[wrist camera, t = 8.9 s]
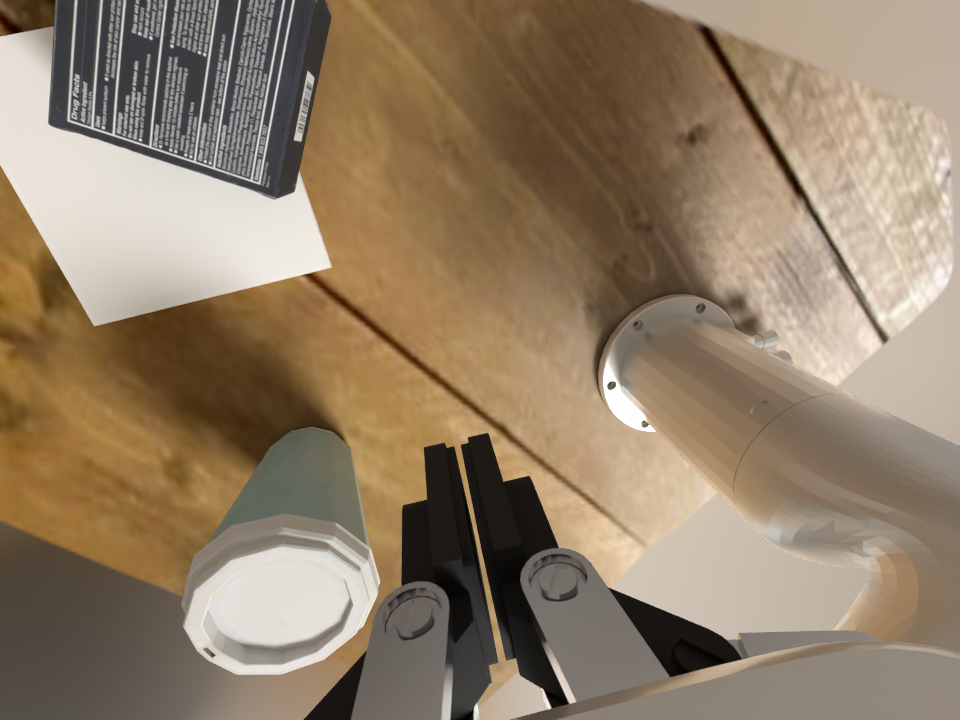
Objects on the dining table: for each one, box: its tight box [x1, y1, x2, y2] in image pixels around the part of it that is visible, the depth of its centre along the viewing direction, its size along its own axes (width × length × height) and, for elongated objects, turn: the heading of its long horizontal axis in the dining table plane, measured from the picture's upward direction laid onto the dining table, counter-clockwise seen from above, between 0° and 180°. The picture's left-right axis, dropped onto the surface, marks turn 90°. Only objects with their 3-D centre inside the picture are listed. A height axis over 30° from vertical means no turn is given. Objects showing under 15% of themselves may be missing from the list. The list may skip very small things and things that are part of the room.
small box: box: [48, 0, 331, 200], centre depth 25 cm, size 11×6×10 cm
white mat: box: [0, 26, 332, 326], centre depth 30 cm, size 16×16×1 cm
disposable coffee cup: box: [181, 427, 380, 674], centre depth 33 cm, size 11×11×15 cm
